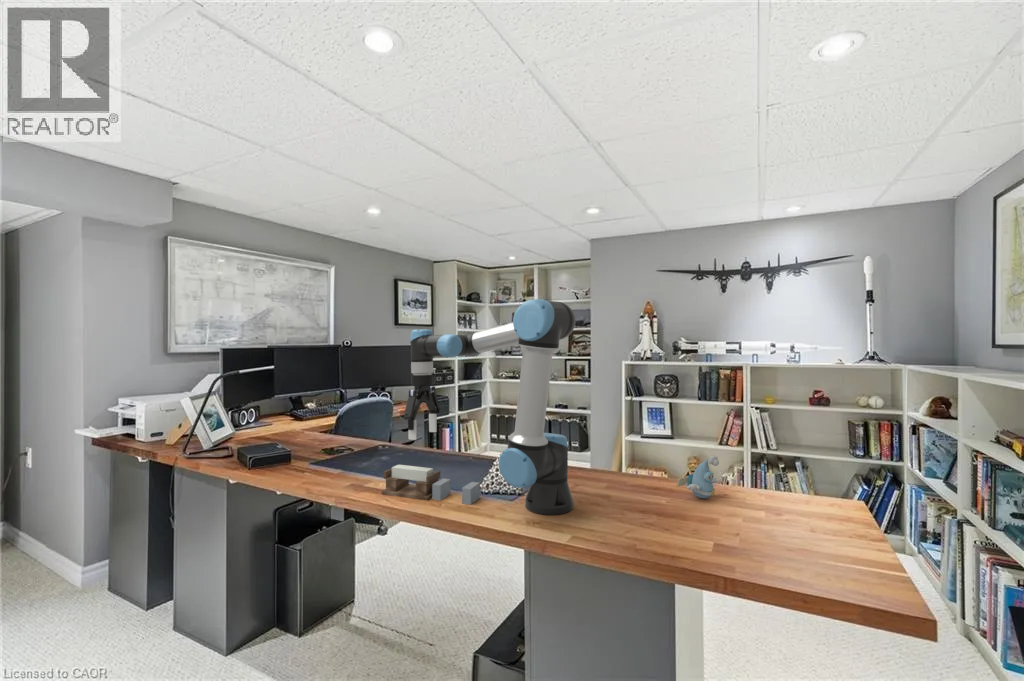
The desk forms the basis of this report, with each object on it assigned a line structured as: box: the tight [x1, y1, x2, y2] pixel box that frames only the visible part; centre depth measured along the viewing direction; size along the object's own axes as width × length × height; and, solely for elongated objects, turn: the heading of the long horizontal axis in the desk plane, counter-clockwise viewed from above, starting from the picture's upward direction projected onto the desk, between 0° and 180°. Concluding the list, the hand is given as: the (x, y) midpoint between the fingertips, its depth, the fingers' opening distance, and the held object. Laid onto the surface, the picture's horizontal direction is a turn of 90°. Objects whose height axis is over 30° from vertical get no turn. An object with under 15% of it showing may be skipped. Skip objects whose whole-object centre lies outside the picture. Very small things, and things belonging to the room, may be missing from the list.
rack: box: [381, 467, 441, 501], centre depth 162 cm, size 18×10×7 cm, turn 69°
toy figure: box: [676, 455, 720, 499], centre depth 156 cm, size 17×10×15 cm, turn 129°
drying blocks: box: [431, 478, 481, 506], centre depth 156 cm, size 14×7×5 cm, turn 69°
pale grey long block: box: [391, 464, 434, 482], centre depth 162 cm, size 14×4×4 cm, turn 69°
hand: (423, 435), depth 161 cm, fingers open, 13 cm apart
